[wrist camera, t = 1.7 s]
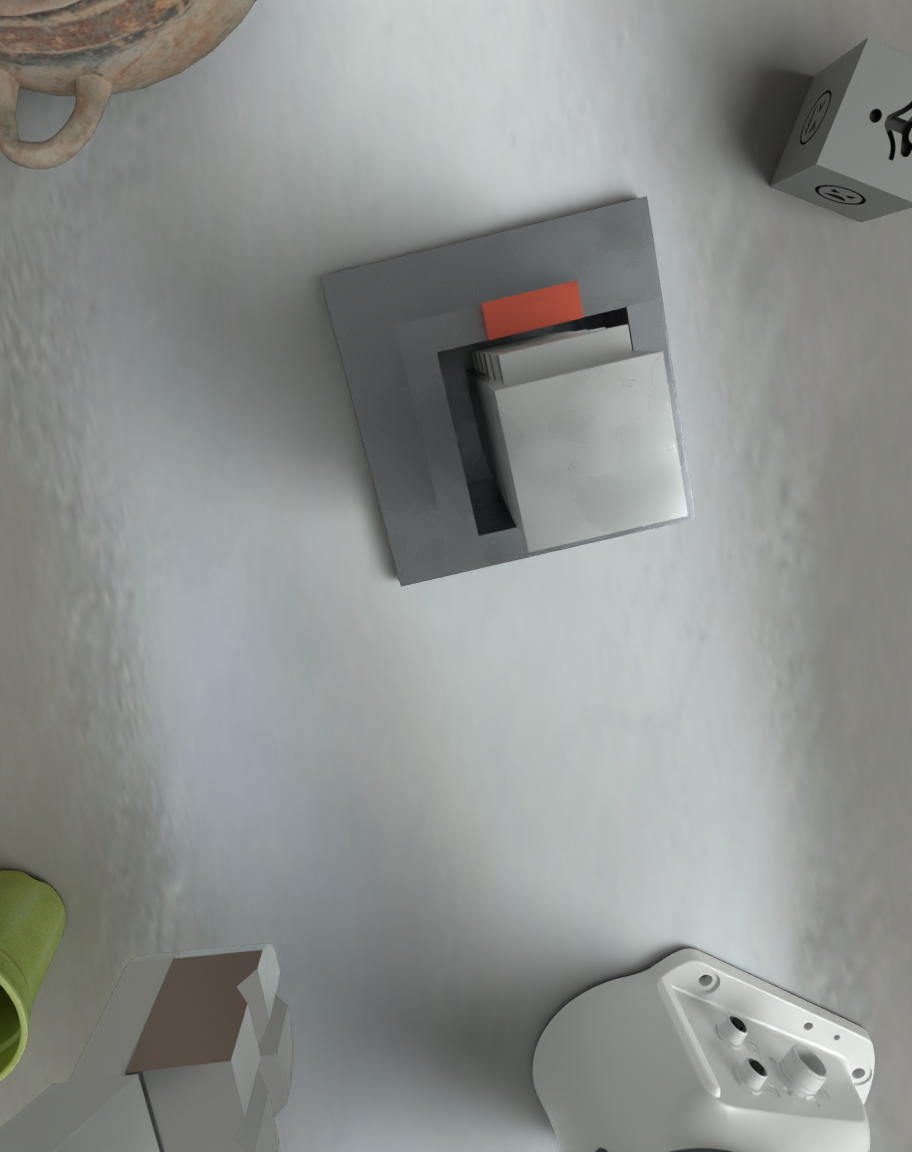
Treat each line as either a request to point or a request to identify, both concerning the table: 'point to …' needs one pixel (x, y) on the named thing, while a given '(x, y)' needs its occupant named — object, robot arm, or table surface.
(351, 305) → the sleeve
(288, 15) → the table surface
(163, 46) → the cooking pot
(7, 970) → the plant pot
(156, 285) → the table surface
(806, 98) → the dice cube
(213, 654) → the table surface
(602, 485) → the column
